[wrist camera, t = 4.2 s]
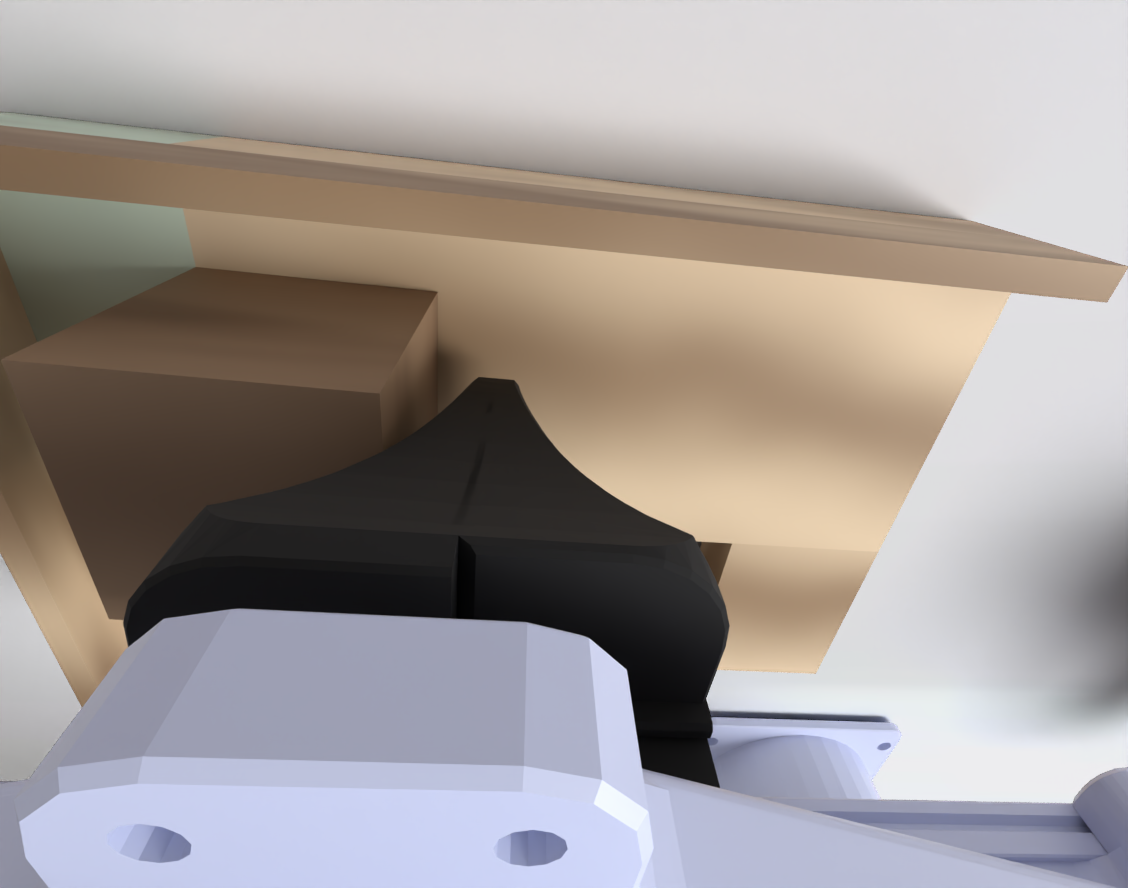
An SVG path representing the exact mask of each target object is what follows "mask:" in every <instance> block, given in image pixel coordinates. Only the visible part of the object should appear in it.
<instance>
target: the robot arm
mask: <svg viewBox="0 0 1128 888" xmlns="http://www.w3.org/2000/svg"><path fill="white" fill-rule="evenodd" d="M123 626H124V631H125V635H126V640H127V645H128V648H127V649H125V651H124V652H123V653H122V655H121V656H120V657H119V659H118V660H117V661H116V663H115V664H114V666H113V667H112V668H111V670H110V671H109V672H108V674H107V675H106V676H105V678H104V679H103V680H102V682H101V683H100V684H99V686H98V687H97V688H96V690H95V691H94V692H93V694H92V695H91V696H90V698H89V699H88V700H87V702H86V703H85V704H84V706H83V707H82V708H81V710H80V711H79V712H78V714H77V715H76V717H75V718H74V719H73V721H72V722H71V723H70V725H69V726H68V727H67V729H66V730H65V731H64V733H63V734H62V735H61V737H60V738H59V739H58V741H57V742H56V743H55V745H54V746H53V747H52V749H51V750H50V751H49V753H48V754H47V755H46V757H45V758H44V759H43V761H42V762H41V763H40V765H39V766H38V768H37V769H36V770H35V772H34V773H33V774H32V776H31V777H30V778H29V779H26V780H21V781H0V888H1128V767H1126V768H1117V769H1113V770H1110V771H1107V772H1104V773H1102V774H1100V775H1098V776H1097V777H1095V778H1094V779H1092V780H1090V781H1089V782H1088V783H1087V784H1086V785H1085V786H1084V787H1083V788H1082V789H1081V790H1080V791H1079V793H1078V794H1077V795H1076V796H1075V798H1074V801H1073V804H1072V803H1024V802H977V801H929V800H881V798H880V796H879V794H878V792H877V790H876V788H875V786H874V784H873V781H872V779H873V778H874V776H875V775H876V773H877V772H878V771H879V769H880V768H881V766H882V765H883V763H884V762H885V761H886V759H887V758H888V756H889V755H890V753H891V752H892V750H893V749H894V748H895V746H896V745H897V743H898V742H899V740H900V739H901V736H902V735H901V732H900V731H899V729H898V727H897V725H895V724H893V723H886V722H854V721H822V720H790V719H758V718H726V717H711V715H710V712H709V708H708V704H707V701H706V697H707V695H708V692H709V689H710V687H711V684H712V681H713V679H714V676H715V674H716V671H717V668H718V666H719V663H720V661H721V658H722V655H723V653H724V650H725V647H726V643H727V638H728V632H729V627H730V625H729V620H728V615H727V610H726V605H725V603H724V600H723V597H722V594H721V592H720V589H719V586H718V584H717V581H716V579H715V577H714V575H713V573H712V570H711V568H710V566H709V564H708V562H707V560H706V559H705V557H704V555H703V553H702V551H701V550H700V548H699V546H698V544H697V542H696V540H695V538H694V536H693V535H691V534H689V533H686V532H684V531H682V530H680V529H677V528H675V527H673V526H670V525H668V524H666V523H664V522H661V521H659V520H657V519H654V518H652V517H650V516H648V515H646V514H644V513H642V512H640V511H638V510H637V509H635V508H633V507H631V506H629V505H628V504H626V503H624V502H622V501H621V500H619V499H617V498H616V497H614V496H613V495H611V494H610V493H608V492H607V491H605V490H604V489H602V488H601V487H600V486H598V485H597V484H596V483H594V482H593V481H592V480H590V479H589V478H588V477H586V476H585V475H584V474H583V473H581V472H580V471H579V470H578V469H577V468H575V467H574V466H573V465H572V464H571V463H570V462H569V461H568V460H567V459H566V458H565V457H564V456H563V455H562V454H561V453H560V452H559V451H558V449H557V448H556V447H555V446H554V445H553V443H552V442H551V441H550V439H549V438H548V437H547V436H546V434H545V433H544V431H543V430H542V429H541V427H540V426H539V424H538V423H537V421H536V419H535V418H534V416H533V415H532V413H531V411H530V410H529V408H528V406H527V404H526V402H525V400H524V398H523V396H522V394H521V391H520V388H519V385H518V384H517V383H516V382H515V380H509V379H498V378H486V377H478V378H477V379H475V380H474V381H473V382H472V383H471V384H470V385H469V386H468V387H467V388H466V389H465V390H464V391H463V392H462V393H461V394H460V395H459V396H458V397H457V398H456V399H455V400H454V401H453V402H451V403H450V404H449V405H448V406H447V407H446V408H445V409H444V410H442V411H441V412H440V413H439V414H438V415H437V416H436V417H434V418H433V419H432V420H431V421H429V422H428V423H427V424H425V425H424V426H423V427H421V428H420V429H419V430H417V431H416V432H414V433H413V434H411V435H410V436H408V437H407V438H405V439H403V440H402V441H400V442H398V443H397V444H395V445H393V446H391V447H389V448H388V449H386V450H384V451H382V452H380V453H378V454H376V455H374V456H372V457H369V458H367V459H365V460H363V461H360V462H358V463H356V464H353V465H351V466H349V467H346V468H344V469H342V470H340V471H337V472H334V473H332V474H329V475H326V476H323V477H320V478H317V479H314V480H311V481H308V482H304V483H301V484H298V485H295V486H291V487H288V488H284V489H280V490H276V491H273V492H268V493H264V494H259V495H255V496H250V497H245V498H241V499H236V500H232V501H227V502H222V503H217V504H211V505H207V506H206V507H205V508H204V509H203V510H202V511H201V512H200V513H199V514H198V515H197V516H196V517H195V518H194V520H193V521H192V522H191V523H190V524H189V525H188V526H187V527H186V528H185V529H184V531H183V532H182V533H181V534H180V535H179V537H178V538H177V539H176V540H175V542H174V543H173V544H172V546H171V547H170V548H169V549H168V551H167V552H166V553H165V554H164V556H163V557H162V558H161V560H160V561H159V562H158V563H157V565H156V566H155V567H154V568H153V570H152V571H151V572H150V574H149V575H148V576H147V577H146V579H145V580H144V581H143V582H142V584H141V585H140V586H139V587H138V589H137V590H136V591H135V593H134V594H133V595H132V596H131V598H130V599H129V600H128V603H127V607H126V612H125V616H124V620H123Z"/></svg>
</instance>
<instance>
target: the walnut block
mask: <svg viewBox="0 0 1128 888" xmlns="http://www.w3.org/2000/svg"><path fill="white" fill-rule="evenodd" d="M1 362H2V364H3V366H4V369H5V371H6V374H7V376H8V378H9V381H10V383H11V386H12V388H13V390H14V393H15V395H16V398H17V400H18V402H19V405H20V407H21V410H22V412H23V414H24V417H25V419H26V422H27V424H28V426H29V429H30V431H31V434H32V436H33V438H34V441H35V443H36V446H37V448H38V450H39V453H40V455H41V458H42V460H43V462H44V465H45V467H46V470H47V472H48V474H49V477H50V479H51V482H52V484H53V486H54V489H55V491H56V493H57V496H58V498H59V501H60V503H61V505H62V508H63V510H64V513H65V515H66V517H67V520H68V522H69V525H70V527H71V529H72V532H73V534H74V537H75V539H76V541H77V544H78V546H79V549H80V551H81V553H82V556H83V558H84V561H85V563H86V565H87V568H88V570H89V573H90V575H91V577H92V580H93V582H94V585H95V587H96V589H97V592H98V594H99V597H100V599H101V601H102V604H103V606H104V608H105V611H106V613H107V616H108V618H109V619H113V620H124V616H125V612H126V607H127V603H128V600H129V599H130V598H131V596H132V595H133V594H134V593H135V591H136V590H137V589H138V587H139V586H140V585H141V584H142V582H143V581H144V580H145V579H146V577H147V576H148V575H149V574H150V572H151V571H152V570H153V568H154V567H155V566H156V565H157V563H158V562H159V561H160V560H161V558H162V557H163V556H164V554H165V553H166V552H167V551H168V549H169V548H170V547H171V546H172V544H173V543H174V542H175V540H176V539H177V538H178V537H179V535H180V534H181V533H182V532H183V531H184V529H185V528H186V527H187V526H188V525H189V524H190V523H191V522H192V521H193V520H194V518H195V517H196V516H197V515H198V514H199V513H200V512H201V511H202V510H203V509H204V508H205V507H206V506H207V505H211V504H217V503H222V502H227V501H232V500H236V499H241V498H245V497H250V496H255V495H259V494H264V493H268V492H273V491H276V490H280V489H284V488H288V487H291V486H295V485H298V484H301V483H304V482H308V481H311V480H314V479H317V478H320V477H323V476H326V475H329V474H332V473H334V472H337V471H340V470H342V469H344V468H346V467H349V466H351V465H353V464H356V463H358V462H360V461H363V460H365V459H367V458H369V457H372V456H374V455H376V454H378V453H380V452H382V451H384V450H386V449H388V448H389V447H391V446H393V445H395V444H397V443H398V442H400V441H402V440H403V439H405V438H407V437H408V436H410V435H411V434H413V433H414V432H416V431H417V430H419V429H420V428H421V427H423V426H424V425H425V424H427V423H428V422H429V421H431V420H432V419H433V418H434V417H436V416H437V415H438V292H433V291H423V290H414V289H404V288H394V287H385V286H375V285H366V284H356V283H346V282H337V281H327V280H318V279H308V278H298V277H289V276H279V275H270V274H260V273H250V272H241V271H231V270H221V269H211V268H201V267H195V268H193V269H191V270H188V271H186V272H184V273H182V274H180V275H178V276H176V277H174V278H172V279H170V280H167V281H165V282H163V283H161V284H159V285H157V286H155V287H153V288H151V289H148V290H146V291H144V292H142V293H140V294H138V295H136V296H134V297H132V298H130V299H127V300H125V301H123V302H121V303H119V304H117V305H115V306H113V307H111V308H108V309H106V310H104V311H102V312H100V313H98V314H96V315H94V316H92V317H90V318H87V319H85V320H83V321H81V322H79V323H77V324H75V325H73V326H71V327H68V328H66V329H64V330H62V331H60V332H58V333H56V334H54V335H52V336H49V337H47V338H45V339H43V340H41V341H39V342H37V343H35V344H33V345H31V346H28V347H26V348H24V349H22V350H20V351H18V352H16V353H14V354H12V355H9V356H7V357H5V358H3V359H1Z"/></svg>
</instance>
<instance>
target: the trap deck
mask: <svg viewBox="0 0 1128 888" xmlns="http://www.w3.org/2000/svg"><path fill="white" fill-rule="evenodd" d="M195 267H201V268H211V269H221V270H231V271H241V272H250V273H260V274H270V275H279V276H289V277H298V278H308V279H318V280H327V281H337V282H346V283H356V284H366V285H375V286H385V287H394V288H404V289H414V290H423V291H433V292H438V414H439V413H440V412H441V411H442V410H444V409H445V408H446V407H447V406H448V405H449V404H450V403H451V402H453V401H454V400H455V399H456V398H457V397H458V396H459V395H460V394H461V393H462V392H463V391H464V390H465V389H466V388H467V387H468V386H469V385H470V384H471V383H472V382H473V381H474V380H475V379H477V378H478V377H486V378H498V379H509V380H515V382H516V383H517V384H518V385H519V388H520V391H521V394H522V396H523V398H524V400H525V402H526V404H527V406H528V408H529V410H530V411H531V413H532V415H533V416H534V418H535V419H536V421H537V423H538V424H539V426H540V427H541V429H542V430H543V431H544V433H545V434H546V436H547V437H548V438H549V439H550V441H551V442H552V443H553V445H554V446H555V447H556V448H557V449H558V451H559V452H560V453H561V454H562V455H563V456H564V457H565V458H566V459H567V460H568V461H569V462H570V463H571V464H572V465H573V466H574V467H575V468H577V469H578V470H579V471H580V472H581V473H583V474H584V475H585V476H586V477H588V478H589V479H590V480H592V481H593V482H594V483H596V484H597V485H598V486H600V487H601V488H602V489H604V490H605V491H607V492H608V493H610V494H611V495H613V496H614V497H616V498H617V499H619V500H621V501H622V502H624V503H626V504H628V505H629V506H631V507H633V508H635V509H637V510H638V511H640V512H642V513H644V514H646V515H648V516H650V517H652V518H654V519H657V520H659V521H661V522H664V523H666V524H668V525H670V526H673V527H675V528H677V529H680V530H682V531H684V532H686V533H689V534H691V535H693V536H694V538H695V540H696V542H697V544H698V546H699V548H700V550H701V551H702V553H703V555H704V557H705V559H706V560H707V562H708V564H709V566H710V568H711V570H712V573H713V575H714V577H715V579H716V581H717V584H718V586H719V589H720V592H721V594H722V597H723V600H724V603H725V605H726V610H727V615H728V620H729V625H730V627H729V632H728V638H727V643H726V647H725V650H724V653H723V655H722V658H721V661H720V663H719V666H718V668H717V670H736V671H762V672H788V673H814V674H816V672H817V670H818V668H819V666H820V664H821V662H822V660H823V658H824V656H825V655H826V653H827V651H828V649H829V647H830V645H831V643H832V641H833V639H834V637H835V635H836V633H837V631H838V629H839V627H840V625H841V623H842V621H843V619H844V618H845V616H846V614H847V612H848V610H849V608H850V606H851V604H852V602H853V600H854V598H855V596H856V594H857V592H858V590H859V588H860V586H861V584H862V582H863V581H864V579H865V577H866V575H867V573H868V571H869V569H870V567H871V565H872V563H873V561H874V559H875V557H876V555H877V553H878V551H879V549H880V547H881V545H882V543H883V542H884V540H885V538H886V536H887V534H888V532H889V530H890V528H891V526H892V524H893V522H894V520H895V518H896V516H897V514H898V512H899V510H900V508H901V506H902V505H903V503H904V501H905V499H906V497H907V495H908V493H909V491H910V489H911V487H912V485H913V483H914V481H915V479H916V477H917V475H918V473H919V471H920V469H921V468H922V466H923V464H924V462H925V460H926V458H927V456H928V454H929V452H930V450H931V448H932V446H933V444H934V442H935V440H936V438H937V436H938V434H939V432H940V430H941V429H942V427H943V425H944V423H945V421H946V419H947V417H948V415H949V413H950V411H951V409H952V407H953V405H954V403H955V401H956V399H957V397H958V395H959V393H960V392H961V390H962V388H963V386H964V384H965V382H966V380H967V378H968V376H969V374H970V372H971V370H972V368H973V366H974V364H975V362H976V360H977V358H978V356H979V355H980V353H981V351H982V349H983V347H984V345H985V343H986V341H987V339H988V337H989V335H990V333H991V331H992V329H993V327H994V325H995V323H996V321H997V319H998V318H999V316H1000V314H1001V312H1002V310H1003V308H1004V306H1005V304H1006V302H1007V300H1008V298H1009V296H1010V294H1011V293H1019V294H1029V295H1039V296H1049V297H1058V298H1068V299H1078V300H1088V301H1098V302H1108V300H1109V298H1110V297H1111V295H1112V294H1113V292H1114V290H1115V289H1116V287H1117V285H1118V284H1119V282H1120V280H1121V279H1122V277H1123V275H1124V274H1125V272H1126V270H1127V269H1128V266H1125V265H1121V264H1118V263H1114V262H1111V261H1108V260H1104V259H1101V258H1097V257H1094V256H1090V255H1087V254H1083V253H1080V252H1077V251H1073V250H1070V249H1066V248H1063V247H1059V246H1056V245H1052V244H1049V243H1046V242H1042V241H1039V240H1035V239H1032V238H1028V237H1025V236H1021V235H1018V234H1015V233H1011V232H1008V231H1004V230H1001V229H997V228H994V227H990V226H987V225H984V224H980V223H977V222H973V221H967V220H958V219H949V218H940V217H932V216H923V215H914V214H905V213H896V212H887V211H878V210H870V209H861V208H852V207H843V206H834V205H825V204H816V203H807V202H799V201H790V200H781V199H772V198H763V197H754V196H745V195H737V194H728V193H719V192H710V191H701V190H692V189H683V188H675V187H666V186H657V185H648V184H639V183H630V182H621V181H612V180H604V179H595V178H586V177H577V176H568V175H559V174H550V173H542V172H533V171H524V170H515V169H506V168H497V167H488V166H480V165H471V164H462V163H453V162H444V161H435V160H426V159H418V158H409V157H400V156H391V155H382V154H373V153H364V152H355V151H347V150H338V149H329V148H320V147H311V146H302V145H293V144H285V143H276V142H267V141H258V140H249V139H240V138H231V137H223V136H214V135H205V134H196V133H187V132H178V131H169V130H160V129H152V128H143V127H134V126H125V125H116V124H107V123H98V122H90V121H81V120H72V119H63V118H54V117H45V116H36V115H28V114H19V113H10V112H0V553H1V555H2V557H3V559H4V561H5V563H6V565H7V566H8V568H9V570H10V572H11V574H12V576H13V578H14V580H15V582H16V583H17V585H18V587H19V589H20V591H21V593H22V595H23V597H24V599H25V601H26V602H27V604H28V606H29V608H30V610H31V612H32V614H33V616H34V618H35V619H36V621H37V623H38V625H39V627H40V629H41V631H42V633H43V635H44V636H45V638H46V640H47V642H48V644H49V646H50V648H51V650H52V652H53V653H54V655H55V657H56V659H57V661H58V663H59V665H60V667H61V669H62V670H63V672H64V674H65V676H66V678H67V680H68V682H69V684H70V686H71V687H72V689H73V691H74V693H75V695H76V697H77V699H78V701H79V703H80V704H81V706H82V707H83V706H84V704H85V703H86V702H87V700H88V699H89V698H90V696H91V695H92V694H93V692H94V691H95V690H96V688H97V687H98V686H99V684H100V683H101V682H102V680H103V679H104V678H105V676H106V675H107V674H108V672H109V671H110V670H111V668H112V667H113V666H114V664H115V663H116V661H117V660H118V659H119V657H120V656H121V655H122V653H123V652H124V651H125V649H127V648H128V645H127V640H126V635H125V631H124V626H123V620H113V619H109V618H108V616H107V613H106V611H105V608H104V606H103V604H102V601H101V599H100V597H99V594H98V592H97V589H96V587H95V585H94V582H93V580H92V577H91V575H90V573H89V570H88V568H87V565H86V563H85V561H84V558H83V556H82V553H81V551H80V549H79V546H78V544H77V541H76V539H75V537H74V534H73V532H72V529H71V527H70V525H69V522H68V520H67V517H66V515H65V513H64V510H63V508H62V505H61V503H60V501H59V498H58V496H57V493H56V491H55V489H54V486H53V484H52V482H51V479H50V477H49V474H48V472H47V470H46V467H45V465H44V462H43V460H42V458H41V455H40V453H39V450H38V448H37V446H36V443H35V441H34V438H33V436H32V434H31V431H30V429H29V426H28V424H27V422H26V419H25V417H24V414H23V412H22V410H21V407H20V405H19V402H18V400H17V398H16V395H15V393H14V390H13V388H12V386H11V383H10V381H9V378H8V376H7V374H6V371H5V369H4V366H3V364H2V362H1V359H3V358H5V357H7V356H9V355H12V354H14V353H16V352H18V351H20V350H22V349H24V348H26V347H28V346H31V345H33V344H35V343H37V342H39V341H41V340H43V339H45V338H47V337H49V336H52V335H54V334H56V333H58V332H60V331H62V330H64V329H66V328H68V327H71V326H73V325H75V324H77V323H79V322H81V321H83V320H85V319H87V318H90V317H92V316H94V315H96V314H98V313H100V312H102V311H104V310H106V309H108V308H111V307H113V306H115V305H117V304H119V303H121V302H123V301H125V300H127V299H130V298H132V297H134V296H136V295H138V294H140V293H142V292H144V291H146V290H148V289H151V288H153V287H155V286H157V285H159V284H161V283H163V282H165V281H167V280H170V279H172V278H174V277H176V276H178V275H180V274H182V273H184V272H186V271H188V270H191V269H193V268H195Z"/></svg>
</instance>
